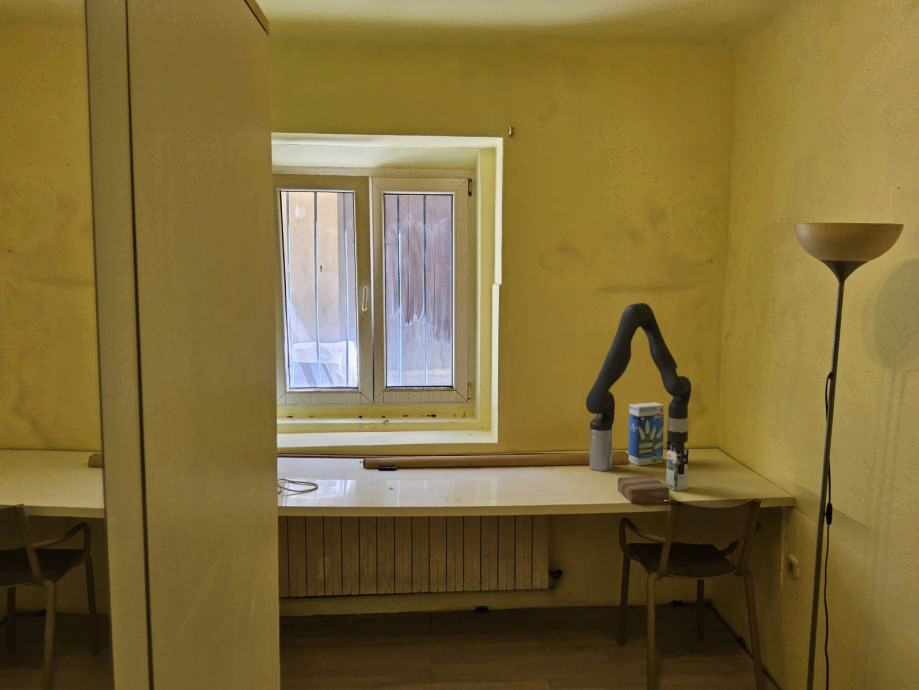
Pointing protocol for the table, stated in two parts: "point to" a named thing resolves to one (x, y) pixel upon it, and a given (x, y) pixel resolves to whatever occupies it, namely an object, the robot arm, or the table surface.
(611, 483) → the table surface
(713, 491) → the table surface
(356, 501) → the table surface
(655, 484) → the walnut block
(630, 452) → the string lights box
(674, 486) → the syrup box
